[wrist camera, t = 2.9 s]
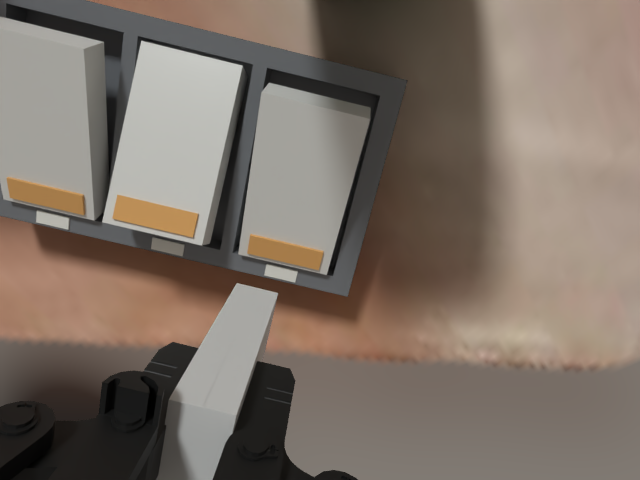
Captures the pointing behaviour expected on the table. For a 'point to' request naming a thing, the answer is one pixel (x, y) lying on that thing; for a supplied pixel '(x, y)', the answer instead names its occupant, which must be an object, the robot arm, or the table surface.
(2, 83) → the rocker
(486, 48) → the table surface
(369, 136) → the grey compartment tray
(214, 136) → the rocker
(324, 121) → the rocker
